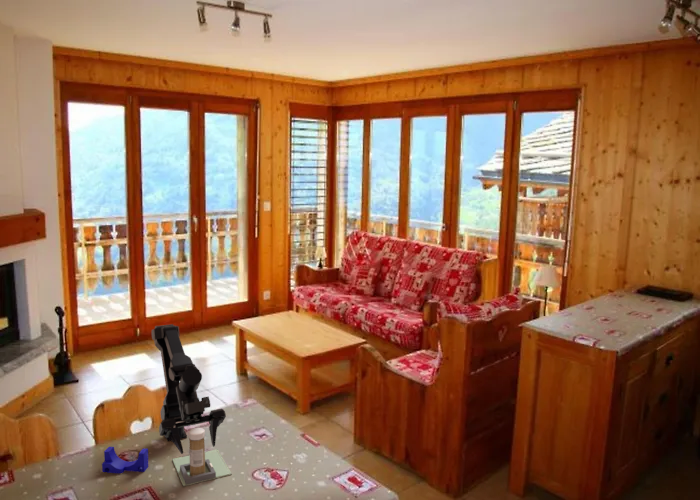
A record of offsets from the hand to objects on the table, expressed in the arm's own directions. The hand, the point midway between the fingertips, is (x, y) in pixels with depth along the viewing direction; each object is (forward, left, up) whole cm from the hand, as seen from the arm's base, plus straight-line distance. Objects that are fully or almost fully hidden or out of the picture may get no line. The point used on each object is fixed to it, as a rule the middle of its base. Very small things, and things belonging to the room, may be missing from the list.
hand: (198, 449), depth 162 cm
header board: (-5, +2, -9) cm, 10 cm away
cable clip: (-14, -19, -9) cm, 25 cm away
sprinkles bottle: (-1, 0, -8) cm, 9 cm away
